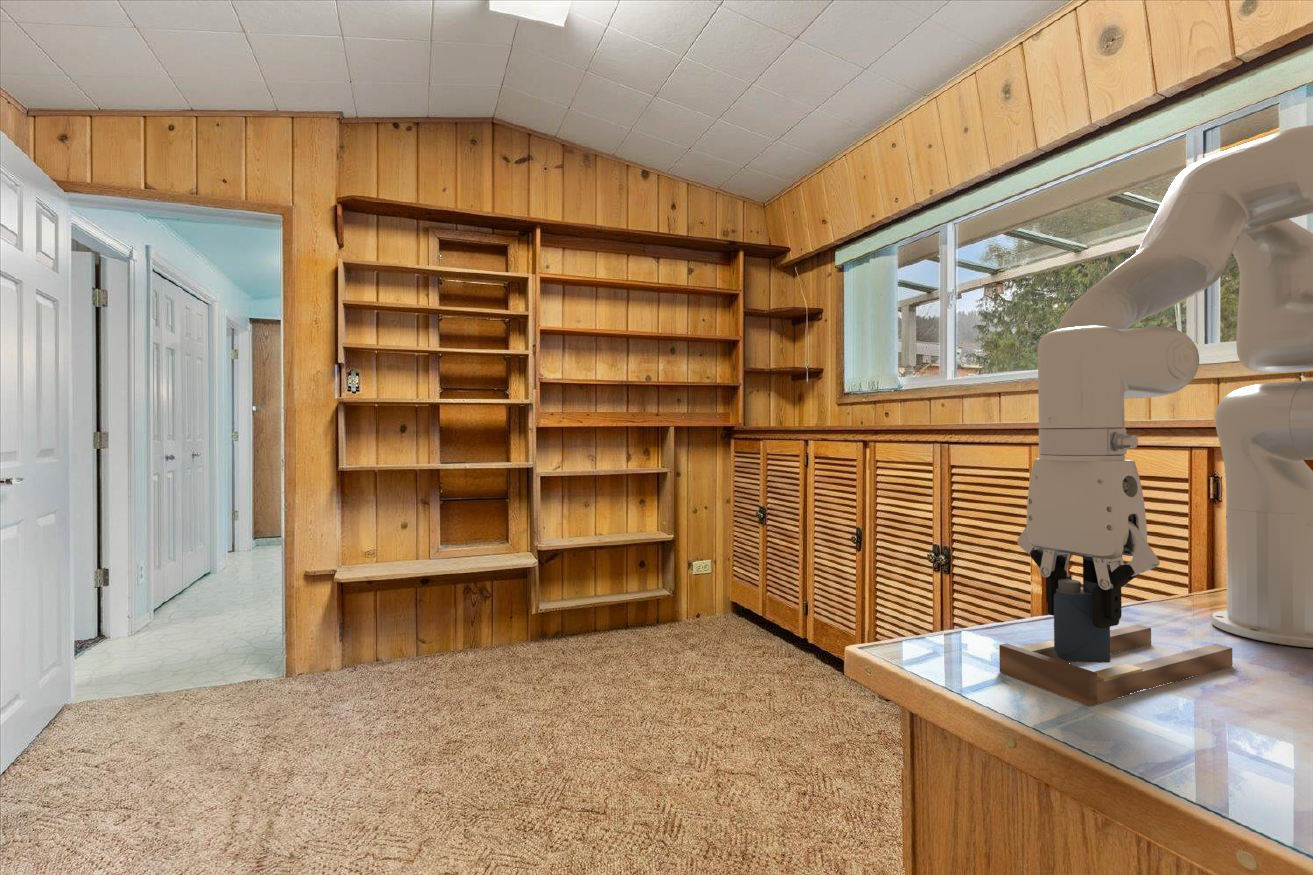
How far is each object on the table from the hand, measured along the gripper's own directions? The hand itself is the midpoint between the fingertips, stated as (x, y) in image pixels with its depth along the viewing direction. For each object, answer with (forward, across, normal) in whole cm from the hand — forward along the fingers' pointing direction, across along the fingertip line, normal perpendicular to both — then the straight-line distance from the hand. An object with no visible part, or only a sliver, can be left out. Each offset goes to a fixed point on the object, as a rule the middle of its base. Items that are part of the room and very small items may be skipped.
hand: (1082, 617), depth 67 cm
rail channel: (+6, 0, -6) cm, 9 cm away
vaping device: (+5, 0, 0) cm, 5 cm away
